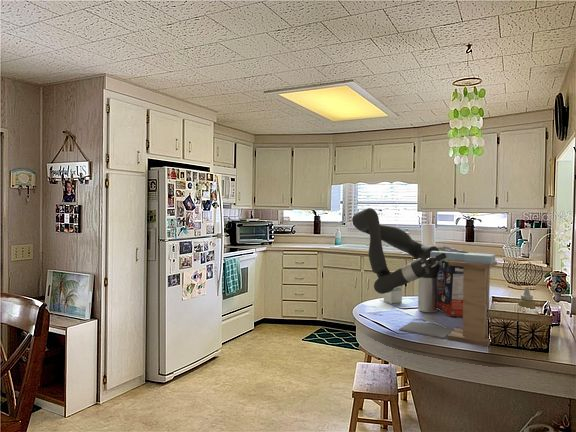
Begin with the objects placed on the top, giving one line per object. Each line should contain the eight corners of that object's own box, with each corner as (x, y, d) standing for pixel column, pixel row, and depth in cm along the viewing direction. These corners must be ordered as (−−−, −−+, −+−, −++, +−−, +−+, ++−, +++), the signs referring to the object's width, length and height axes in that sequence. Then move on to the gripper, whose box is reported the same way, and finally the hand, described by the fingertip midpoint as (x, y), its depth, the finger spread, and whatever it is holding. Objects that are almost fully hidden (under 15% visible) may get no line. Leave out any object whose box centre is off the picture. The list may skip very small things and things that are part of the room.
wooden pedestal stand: (457, 330, 184) (458, 258, 183) (495, 337, 175) (496, 261, 174) (447, 338, 172) (448, 261, 172) (487, 346, 164) (489, 264, 163)
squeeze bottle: (531, 331, 183) (532, 289, 183) (512, 327, 190) (513, 286, 189) (540, 328, 188) (541, 287, 187) (521, 324, 194) (521, 284, 194)
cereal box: (472, 318, 205) (476, 251, 204) (449, 317, 205) (452, 250, 204) (450, 306, 231) (453, 246, 231) (430, 305, 231) (432, 245, 231)
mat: (411, 322, 196) (411, 321, 196) (455, 330, 185) (455, 328, 185) (399, 330, 184) (399, 328, 184) (444, 338, 173) (444, 337, 173)
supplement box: (391, 303, 234) (391, 280, 234) (383, 301, 241) (383, 278, 241) (402, 302, 237) (402, 279, 236) (394, 300, 244) (394, 277, 243)
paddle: (434, 257, 186) (434, 250, 186) (495, 261, 172) (495, 254, 172) (428, 259, 179) (428, 252, 179) (491, 264, 165) (491, 256, 165)
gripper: (404, 264, 182) (438, 247, 174) (416, 260, 194) (449, 244, 185) (413, 280, 180) (448, 263, 172) (424, 276, 192) (457, 260, 183)
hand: (448, 253), depth 178 cm, fingers open, 8 cm apart
